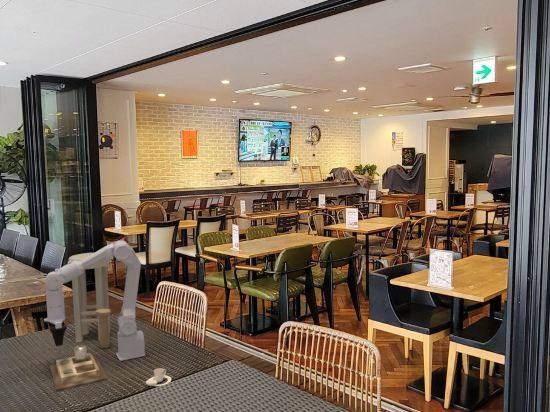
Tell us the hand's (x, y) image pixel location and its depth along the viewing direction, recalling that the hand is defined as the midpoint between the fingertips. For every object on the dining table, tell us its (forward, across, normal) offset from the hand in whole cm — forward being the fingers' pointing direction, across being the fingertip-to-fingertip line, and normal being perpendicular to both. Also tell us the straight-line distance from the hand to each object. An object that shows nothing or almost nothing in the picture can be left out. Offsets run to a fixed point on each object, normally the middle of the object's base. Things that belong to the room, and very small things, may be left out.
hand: (57, 342), depth 176 cm
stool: (+10, -26, +16) cm, 32 cm away
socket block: (+9, +9, +5) cm, 14 cm away
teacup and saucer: (+10, +28, +26) cm, 40 cm away
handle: (+10, -11, +18) cm, 23 cm away
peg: (+9, +4, +7) cm, 12 cm away
